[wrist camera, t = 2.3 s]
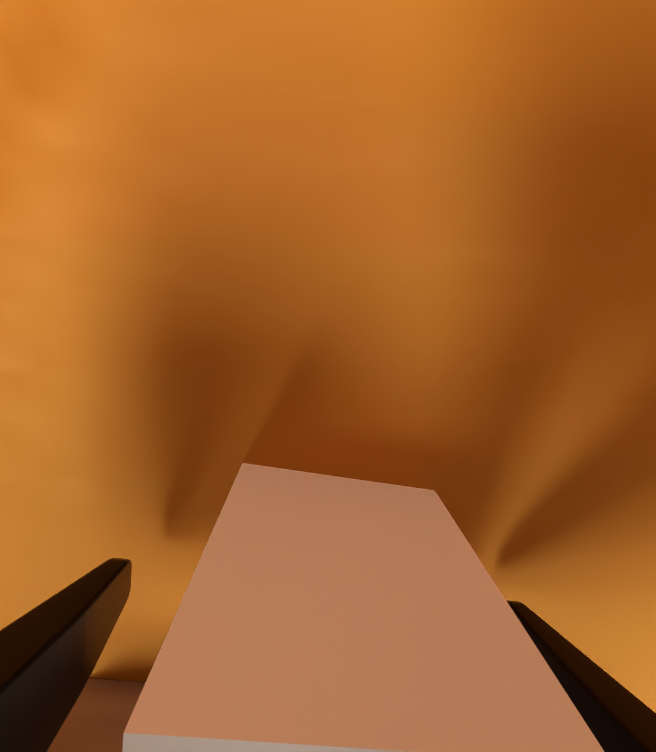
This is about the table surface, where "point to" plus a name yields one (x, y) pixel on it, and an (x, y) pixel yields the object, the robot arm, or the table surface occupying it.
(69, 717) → the base block
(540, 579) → the table surface
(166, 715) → the cube
